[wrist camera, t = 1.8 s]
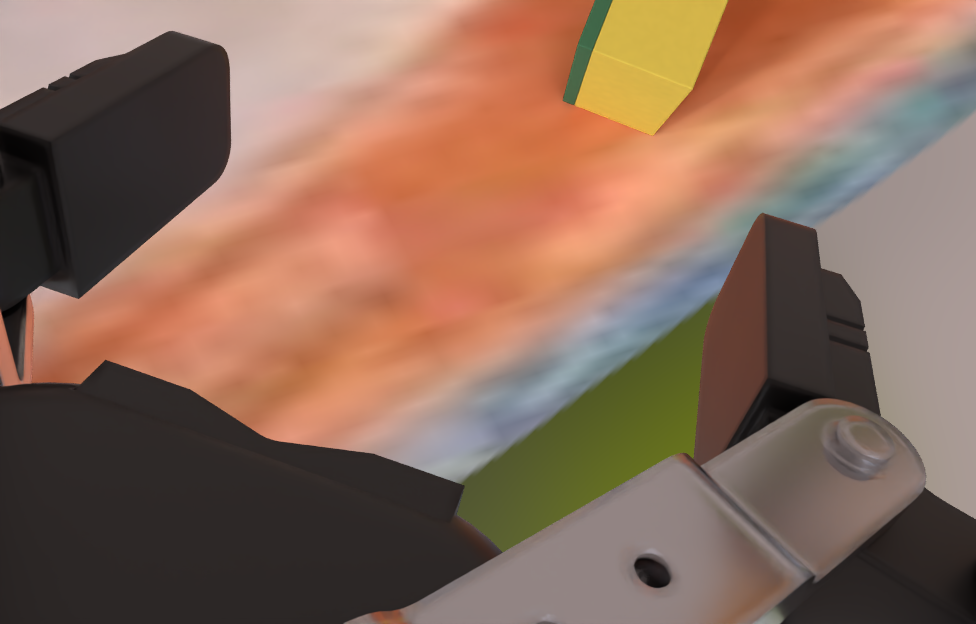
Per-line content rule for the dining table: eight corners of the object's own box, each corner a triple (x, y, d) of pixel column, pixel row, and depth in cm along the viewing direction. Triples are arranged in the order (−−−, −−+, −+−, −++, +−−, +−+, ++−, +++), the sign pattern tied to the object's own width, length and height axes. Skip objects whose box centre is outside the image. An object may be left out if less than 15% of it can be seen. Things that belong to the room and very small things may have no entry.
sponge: (562, 100, 37) (577, 44, 29) (601, 2, 37) (627, -81, 29) (653, 136, 37) (692, 89, 29) (692, 37, 37) (743, -37, 29)
